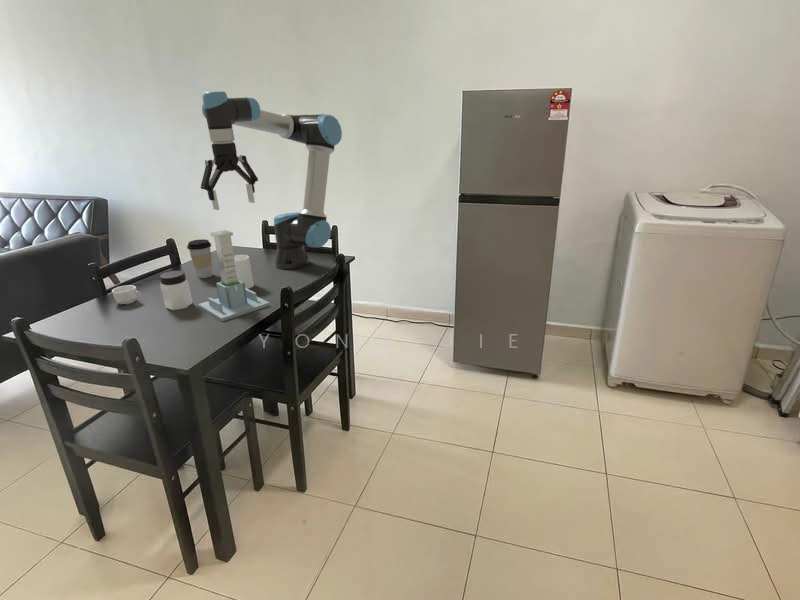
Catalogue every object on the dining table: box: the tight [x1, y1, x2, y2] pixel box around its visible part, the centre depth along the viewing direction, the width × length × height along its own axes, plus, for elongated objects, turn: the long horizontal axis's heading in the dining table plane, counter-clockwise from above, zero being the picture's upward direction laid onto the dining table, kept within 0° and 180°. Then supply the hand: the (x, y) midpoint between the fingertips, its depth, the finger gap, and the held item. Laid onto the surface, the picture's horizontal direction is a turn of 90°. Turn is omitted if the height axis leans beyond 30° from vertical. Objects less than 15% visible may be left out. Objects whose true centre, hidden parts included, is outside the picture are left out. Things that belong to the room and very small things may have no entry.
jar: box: [159, 270, 193, 311], centre depth 162 cm, size 9×8×12 cm
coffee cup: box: [186, 238, 213, 279], centre depth 191 cm, size 9×9×15 cm
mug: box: [234, 254, 255, 290], centre depth 178 cm, size 12×8×12 cm
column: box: [210, 229, 239, 287], centre depth 156 cm, size 5×5×20 cm
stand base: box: [197, 280, 271, 322], centre depth 161 cm, size 18×18×9 cm
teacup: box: [111, 284, 142, 305], centre depth 167 cm, size 10×8×5 cm
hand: (234, 205), depth 160 cm, fingers open, 13 cm apart
